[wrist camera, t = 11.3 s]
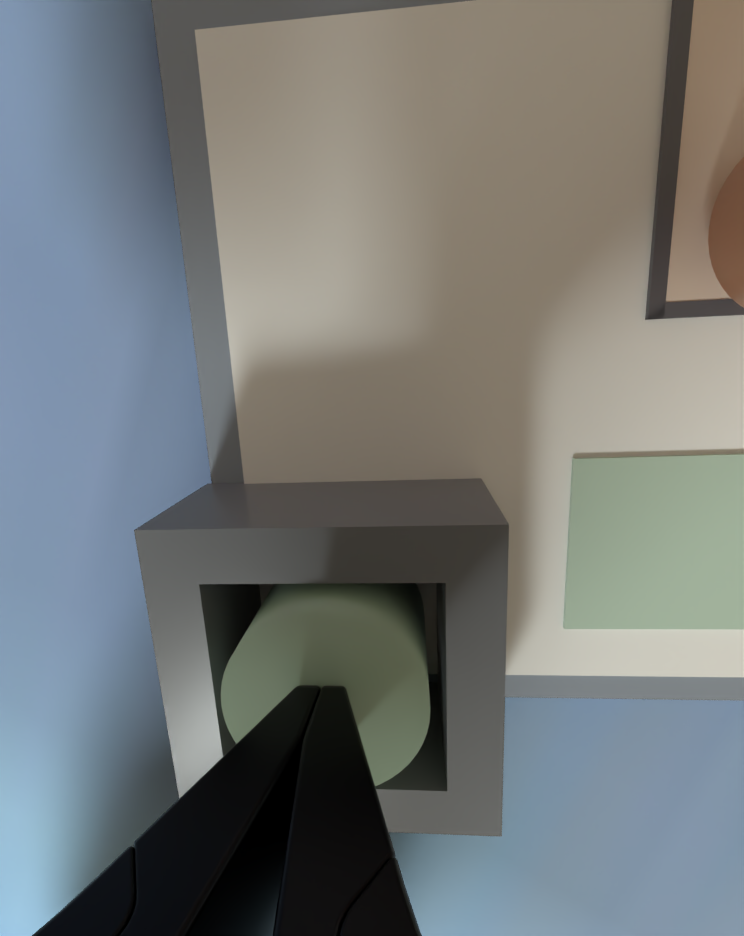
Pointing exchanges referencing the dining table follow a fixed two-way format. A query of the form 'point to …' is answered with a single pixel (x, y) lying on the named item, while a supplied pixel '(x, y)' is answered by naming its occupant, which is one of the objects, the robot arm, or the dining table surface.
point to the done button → (339, 663)
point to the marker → (729, 235)
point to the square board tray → (458, 354)
